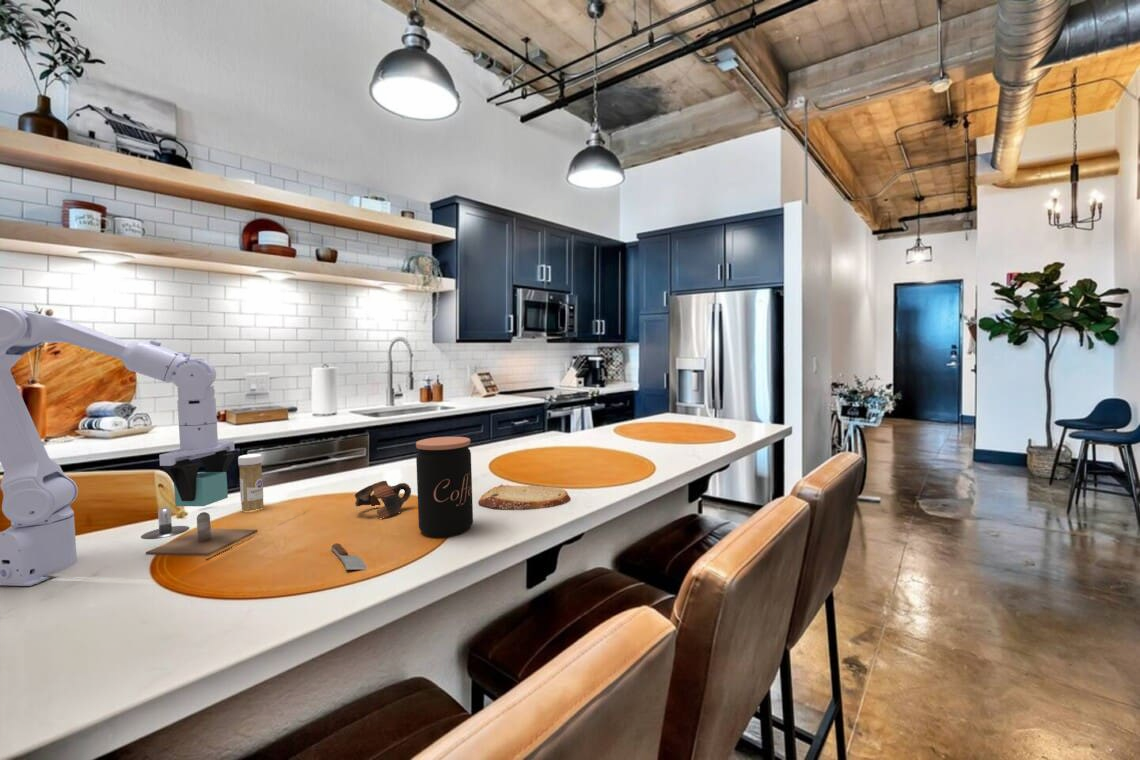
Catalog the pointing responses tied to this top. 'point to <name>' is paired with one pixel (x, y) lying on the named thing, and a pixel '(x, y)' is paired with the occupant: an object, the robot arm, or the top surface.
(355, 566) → the cleaver
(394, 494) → the pottery mug
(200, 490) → the teal collar
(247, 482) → the sprinkles bottle
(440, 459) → the coffee jar
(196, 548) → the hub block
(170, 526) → the round base with peg
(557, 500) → the slice of bread
